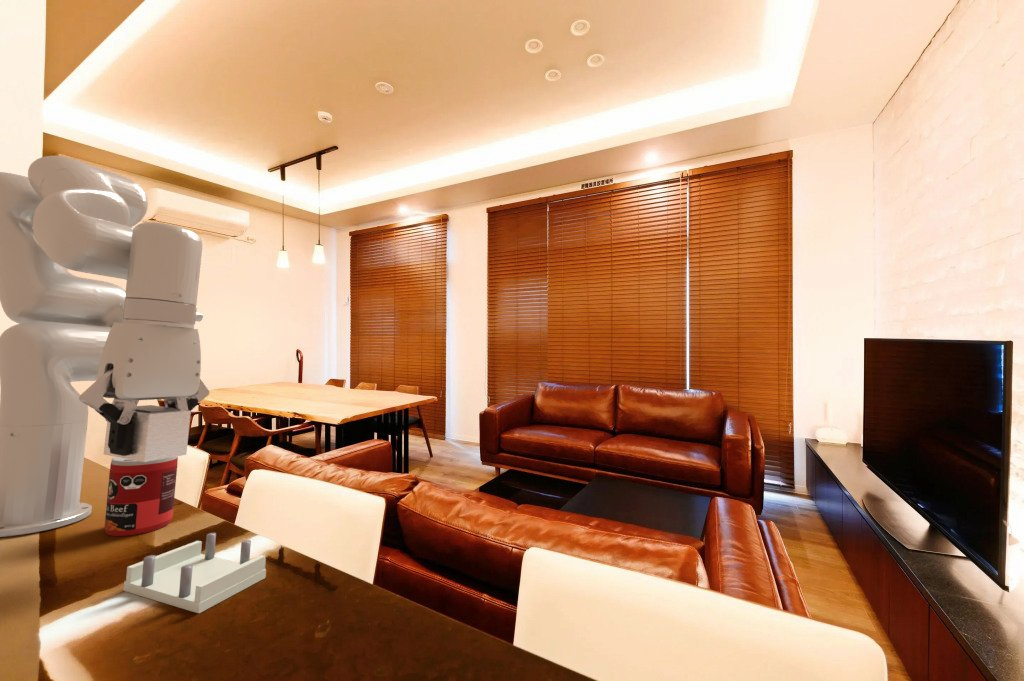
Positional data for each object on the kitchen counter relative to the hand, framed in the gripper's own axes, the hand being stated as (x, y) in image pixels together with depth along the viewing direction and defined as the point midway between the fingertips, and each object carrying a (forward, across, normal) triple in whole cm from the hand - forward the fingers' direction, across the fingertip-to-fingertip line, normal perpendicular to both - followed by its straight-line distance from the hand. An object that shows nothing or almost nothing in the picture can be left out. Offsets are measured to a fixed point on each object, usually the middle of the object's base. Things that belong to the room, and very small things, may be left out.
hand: (146, 448), depth 56 cm
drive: (+1, 0, 0) cm, 1 cm away
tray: (+14, +2, +14) cm, 20 cm away
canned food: (+15, -7, -11) cm, 20 cm away
